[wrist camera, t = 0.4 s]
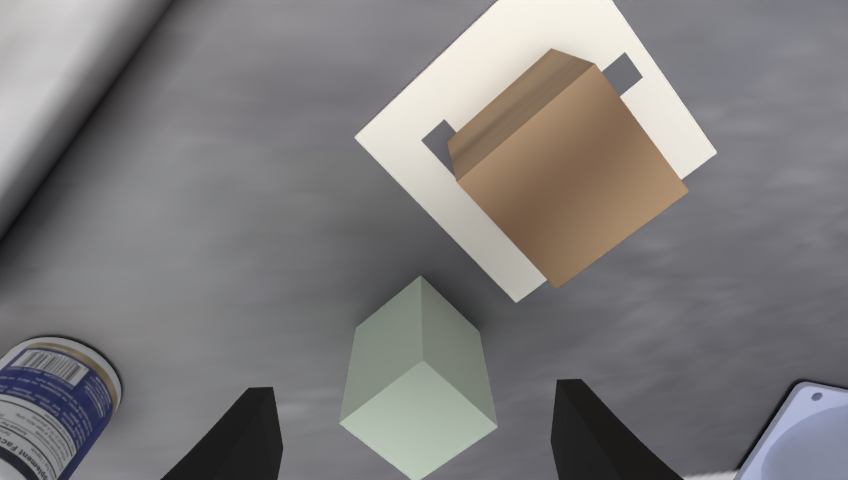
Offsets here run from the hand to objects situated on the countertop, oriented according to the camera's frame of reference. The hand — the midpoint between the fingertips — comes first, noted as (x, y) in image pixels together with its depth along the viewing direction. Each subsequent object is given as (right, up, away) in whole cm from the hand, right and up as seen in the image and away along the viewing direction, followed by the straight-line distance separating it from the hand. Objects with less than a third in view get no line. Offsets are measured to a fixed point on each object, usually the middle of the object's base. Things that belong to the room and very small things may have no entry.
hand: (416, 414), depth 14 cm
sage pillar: (0, 0, +11) cm, 11 cm away
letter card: (+5, +8, +7) cm, 12 cm away
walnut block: (+5, +8, +7) cm, 12 cm away
